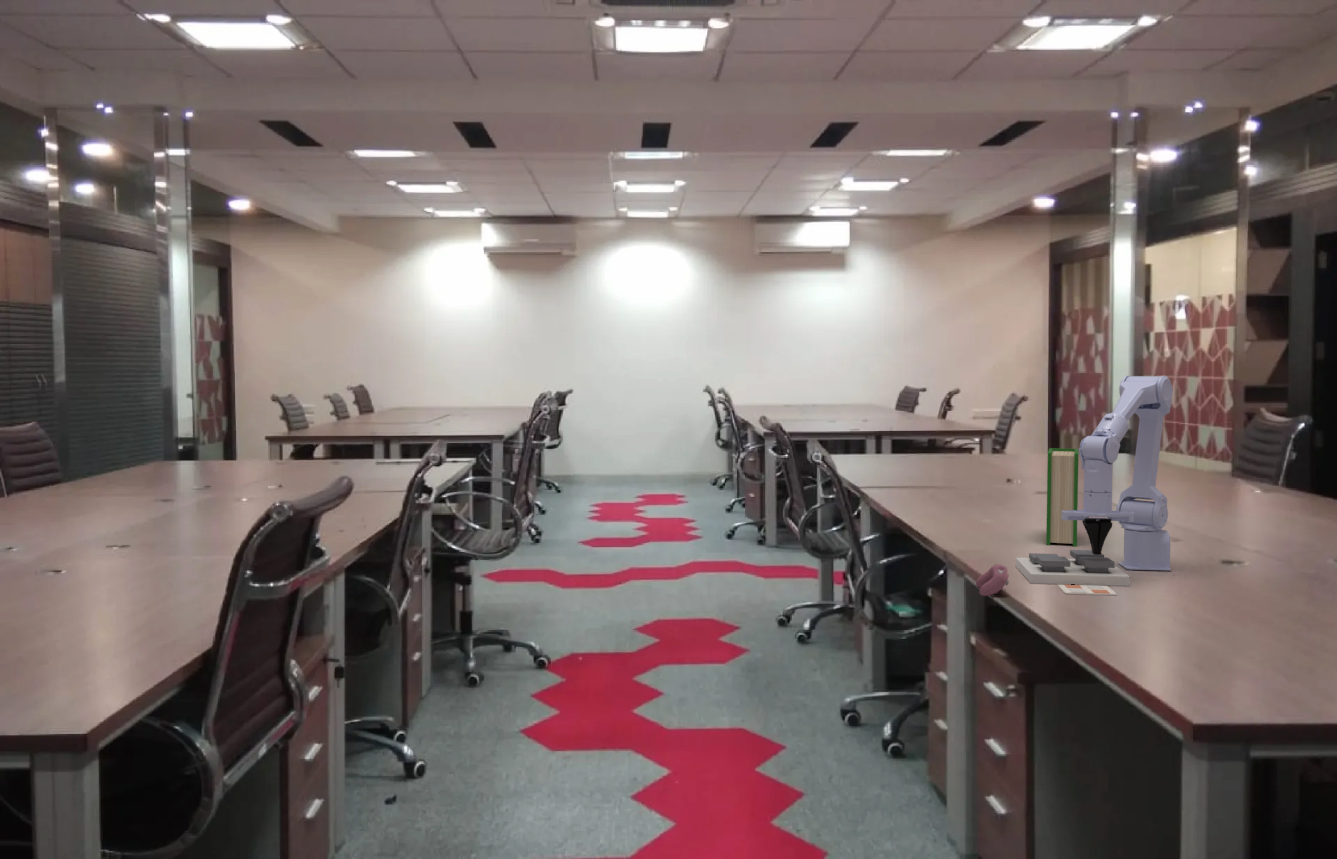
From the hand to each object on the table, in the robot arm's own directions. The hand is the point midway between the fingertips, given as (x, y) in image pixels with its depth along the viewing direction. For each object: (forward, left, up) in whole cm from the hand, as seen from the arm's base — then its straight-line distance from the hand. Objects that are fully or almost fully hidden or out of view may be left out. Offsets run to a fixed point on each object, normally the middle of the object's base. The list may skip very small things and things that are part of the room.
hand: (1096, 553), depth 229 cm
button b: (+9, -9, -5) cm, 14 cm away
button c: (0, 0, -4) cm, 4 cm away
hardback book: (-4, -54, -6) cm, 54 cm away
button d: (+9, 0, -4) cm, 10 cm away
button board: (+4, -5, -6) cm, 9 cm away
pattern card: (+4, +11, -6) cm, 14 cm away
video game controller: (+24, +15, -6) cm, 29 cm away
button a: (0, -9, -4) cm, 10 cm away
